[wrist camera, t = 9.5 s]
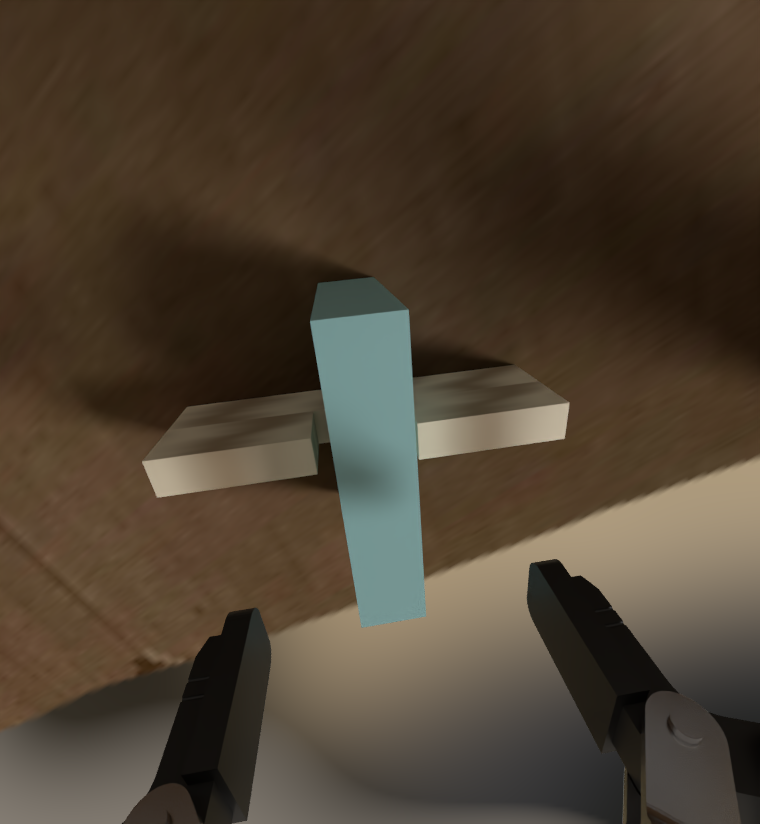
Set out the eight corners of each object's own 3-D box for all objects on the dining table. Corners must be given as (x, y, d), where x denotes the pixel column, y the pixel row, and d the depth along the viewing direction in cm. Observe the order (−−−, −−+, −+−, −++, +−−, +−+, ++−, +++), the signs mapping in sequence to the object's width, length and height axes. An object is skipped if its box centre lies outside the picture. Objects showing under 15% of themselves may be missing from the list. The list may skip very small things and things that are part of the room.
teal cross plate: (317, 283, 20) (310, 320, 11) (373, 277, 21) (408, 309, 12) (350, 493, 26) (361, 627, 17) (392, 487, 27) (426, 616, 18)
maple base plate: (514, 364, 24) (569, 402, 18) (512, 394, 25) (564, 438, 19) (187, 406, 22) (141, 461, 17) (197, 436, 23) (157, 497, 18)
